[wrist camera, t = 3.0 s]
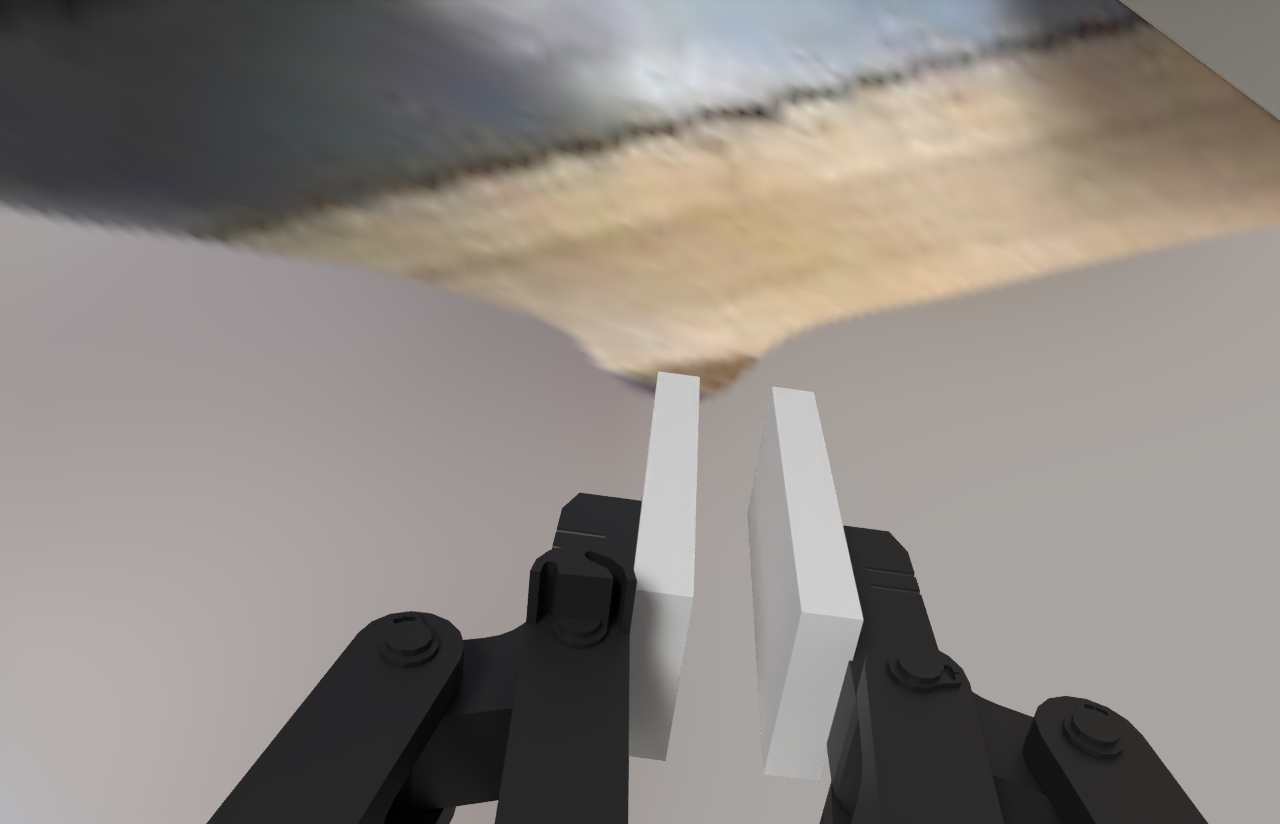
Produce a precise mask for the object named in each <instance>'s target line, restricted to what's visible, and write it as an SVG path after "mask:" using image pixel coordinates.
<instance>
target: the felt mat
mask: <svg viewBox="0 0 1280 824" xmlns="http://www.w3.org/2000/svg"><path fill="white" fill-rule="evenodd" d="M1119 1H1120V2H1122V3H1123V4H1124V5H1126V6H1127V7H1128V8H1130V9H1131V10H1132V11H1134V12H1135V13H1136V14H1138V15H1139V16H1140V17H1142V18H1143V19H1144V20H1146V21H1147V22H1148V23H1150V24H1151V25H1152V26H1154V27H1155V28H1156V29H1158V30H1159V31H1160V32H1162V33H1163V34H1164V35H1166V36H1167V37H1168V38H1170V39H1171V40H1172V41H1174V42H1175V43H1176V44H1178V45H1179V46H1180V47H1182V48H1183V49H1184V50H1186V51H1187V52H1189V53H1190V54H1191V55H1193V56H1194V57H1195V58H1197V59H1198V60H1199V61H1201V62H1202V63H1203V64H1205V65H1206V66H1207V67H1209V68H1210V69H1211V70H1213V71H1214V72H1215V73H1217V74H1218V75H1219V76H1221V77H1222V78H1223V79H1225V80H1226V81H1227V82H1229V83H1230V84H1231V85H1233V86H1234V87H1235V88H1237V89H1238V90H1239V91H1241V92H1242V93H1243V94H1245V95H1246V96H1247V97H1249V98H1250V99H1251V100H1253V101H1254V102H1255V103H1257V104H1258V105H1259V106H1261V107H1262V108H1263V109H1265V110H1266V111H1267V112H1269V113H1270V114H1271V115H1273V116H1274V117H1275V118H1277V119H1278V120H1279V121H1280V0H1119Z"/></svg>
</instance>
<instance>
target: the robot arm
mask: <svg viewBox="0 0 1280 824" xmlns="http://www.w3.org/2000/svg"><path fill="white" fill-rule="evenodd" d="M699 383H700V377H696V376H688V375H681V374H673V373H665V372H658V378H657V385H656V392H655V400H654V407H653V415H652V422H651V430H650V438H649V444H648V452H647V459H646V467H645V474H644V482H643V489H642V497H641V501H637V500H631V499H623V498H616V497H608V496H600V495H593V494H585V493H579V494H578V495H577V496H576V497H574V498H573V499H572V500H571V501H570V502H569V503H568V504H566V505H565V506H564V507H563V508H562V511H561V515H560V519H559V523H558V527H557V532H556V534H555V538H554V542H553V547H552V550H549V551H548V552H546V553H545V554H543V555H542V556H540V557H539V558H537V559H536V561H535V563H534V565H533V566H532V569H531V570H530V580H529V593H528V606H527V618H526V622H525V623H524V624H522V625H521V626H519V627H518V628H516V629H514V630H512V631H510V632H507V633H504V634H502V635H498V636H492V637H487V638H479V639H469V640H463V639H462V636H461V633H460V631H459V630H458V629H457V628H456V627H455V626H454V625H453V624H452V623H451V622H450V621H448V620H446V619H443V618H441V617H439V616H436V615H434V614H430V613H421V612H412V611H410V612H402V613H394V614H389V615H387V616H385V617H382V618H379V619H377V620H374V621H372V622H371V623H370V624H368V625H367V626H366V627H365V628H364V629H362V630H361V631H360V632H359V633H358V634H357V635H356V637H355V638H354V639H353V640H352V642H351V643H350V644H349V645H348V647H347V648H346V649H345V650H344V652H343V653H342V654H341V655H340V657H339V658H338V659H337V660H336V662H335V663H334V664H333V665H332V667H331V668H330V669H329V670H328V672H327V673H326V674H325V675H324V677H323V678H322V679H321V680H320V682H319V683H318V684H317V686H316V687H315V688H314V689H313V691H312V692H311V693H310V694H309V696H308V697H307V698H306V699H305V701H304V702H303V703H302V704H301V706H300V707H299V708H298V709H297V711H296V712H295V713H294V714H293V716H292V717H291V718H290V719H289V721H288V722H287V723H286V724H285V726H284V727H283V728H282V729H281V731H280V732H279V733H278V734H277V736H276V737H275V738H274V739H273V741H272V742H271V743H270V745H269V746H268V747H267V748H266V750H265V751H264V752H263V753H262V755H261V756H260V757H259V758H258V760H257V761H256V762H255V763H254V765H253V766H252V767H251V769H250V770H249V771H248V772H247V773H246V775H245V776H244V777H243V778H242V780H241V781H240V782H239V783H238V785H237V786H236V787H235V788H234V790H233V791H232V792H231V793H230V795H229V796H228V797H227V798H226V800H225V801H224V802H223V803H222V805H221V806H220V807H219V808H218V810H217V811H216V812H215V814H214V815H213V816H212V817H211V819H210V820H209V821H208V822H207V824H449V823H450V821H451V819H452V818H453V816H454V812H455V808H456V806H461V805H468V804H475V803H482V802H488V801H495V800H498V806H497V812H496V819H495V824H628V780H629V778H628V777H629V756H633V757H641V758H648V759H655V760H663V761H665V760H666V754H667V749H668V743H669V737H670V731H671V726H672V720H673V714H674V708H675V702H676V696H677V691H678V685H679V679H680V673H681V667H682V661H683V656H684V649H685V644H686V638H687V632H688V626H689V620H690V615H691V609H692V603H693V597H694V596H693V595H694V562H695V561H694V560H695V526H696V525H695V524H696V488H697V455H698V454H697V453H698V419H699ZM748 526H749V542H750V558H751V576H752V592H753V608H754V625H755V641H756V658H757V674H758V691H759V705H760V724H761V739H762V756H763V773H764V774H766V775H774V776H781V777H788V778H796V779H803V780H810V781H818V782H820V779H821V775H822V771H823V767H824V764H825V760H826V757H827V753H828V757H829V765H830V773H831V780H832V781H831V784H830V788H829V792H828V795H827V799H826V802H825V806H824V810H823V813H822V817H821V820H820V824H1208V823H1207V821H1206V820H1205V819H1204V817H1203V816H1202V815H1201V813H1200V812H1199V811H1198V809H1197V808H1196V806H1195V805H1194V804H1193V803H1192V801H1191V800H1190V798H1189V797H1188V796H1187V794H1186V793H1185V792H1184V790H1183V789H1182V788H1181V786H1180V785H1179V784H1178V782H1177V781H1176V780H1175V778H1174V777H1173V776H1172V774H1171V773H1170V771H1169V770H1168V769H1167V768H1166V766H1165V765H1164V763H1163V762H1162V761H1161V759H1160V758H1159V757H1158V755H1157V754H1156V753H1155V751H1154V750H1153V749H1152V747H1151V746H1150V745H1149V743H1148V742H1147V741H1146V739H1145V738H1144V737H1143V735H1142V734H1141V733H1140V732H1139V731H1138V730H1137V729H1136V728H1135V727H1134V726H1133V725H1132V724H1131V723H1130V722H1129V721H1128V720H1127V719H1125V718H1123V717H1122V716H1120V715H1119V714H1117V713H1116V712H1114V711H1112V710H1111V709H1109V708H1108V707H1105V706H1103V705H1100V704H1098V703H1095V702H1092V701H1090V700H1087V699H1082V698H1075V697H1069V696H1062V697H1056V698H1049V699H1047V700H1046V701H1045V702H1043V704H1041V705H1040V706H1038V708H1037V711H1036V713H1035V716H1034V717H1031V716H1028V715H1025V714H1023V713H1020V712H1017V711H1014V710H1011V709H1009V708H1006V707H1003V706H1000V705H998V704H995V703H993V702H991V701H988V700H986V699H984V698H982V697H980V696H978V695H977V694H975V693H973V692H972V690H971V686H970V683H969V681H968V679H967V677H966V675H965V673H964V671H963V669H962V668H961V667H960V666H959V665H958V664H957V663H956V662H955V661H953V660H952V659H951V658H950V657H949V656H948V655H946V654H944V653H942V652H941V651H939V650H938V647H937V644H936V640H935V637H934V634H933V631H932V628H931V624H930V621H929V618H928V615H927V612H926V608H925V605H924V602H923V599H922V596H921V595H920V589H919V586H918V583H917V580H916V578H915V577H914V570H913V567H912V564H911V561H910V558H909V554H908V552H907V551H906V550H905V548H903V546H902V545H901V544H900V543H899V542H898V541H897V540H896V539H895V538H894V537H893V536H892V534H891V533H890V532H888V531H881V530H873V529H866V528H858V527H850V526H843V524H842V520H841V515H840V511H839V506H838V502H837V497H836V492H835V488H834V483H833V478H832V474H831V469H830V465H829V460H828V456H827V451H826V446H825V442H824V437H823V433H822V428H821V424H820V419H819V415H818V410H817V406H816V401H815V396H814V392H809V391H802V390H794V389H787V388H779V387H772V390H771V395H770V401H769V406H768V411H767V416H766V421H765V426H764V432H763V437H762V442H761V447H760V452H759V457H758V463H757V468H756V473H755V478H754V484H753V489H752V494H751V499H750V504H749V509H748Z"/></svg>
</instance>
